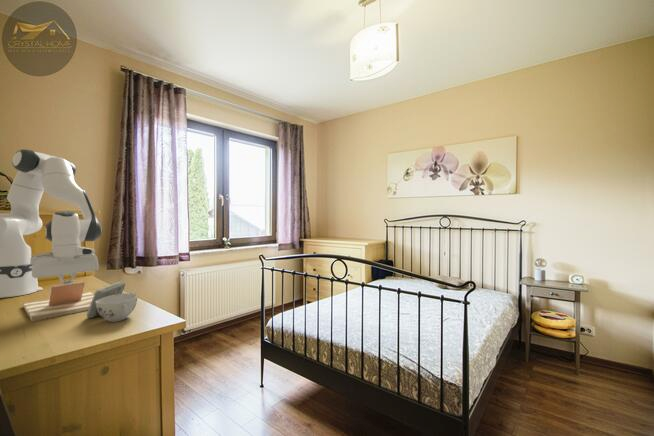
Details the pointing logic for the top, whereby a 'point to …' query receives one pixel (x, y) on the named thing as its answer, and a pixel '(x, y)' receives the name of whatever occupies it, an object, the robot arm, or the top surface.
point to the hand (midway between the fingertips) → (67, 285)
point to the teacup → (116, 306)
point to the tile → (66, 293)
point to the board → (57, 307)
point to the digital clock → (102, 293)
